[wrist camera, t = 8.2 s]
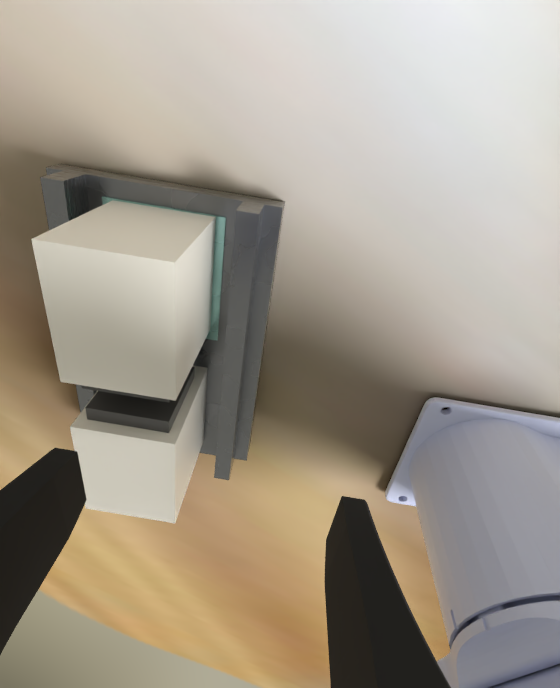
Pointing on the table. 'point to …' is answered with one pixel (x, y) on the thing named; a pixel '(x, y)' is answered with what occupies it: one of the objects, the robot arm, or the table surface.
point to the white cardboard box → (128, 297)
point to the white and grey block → (141, 450)
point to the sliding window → (227, 289)
